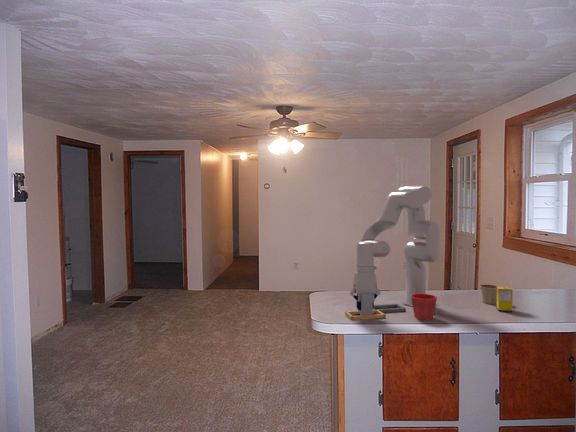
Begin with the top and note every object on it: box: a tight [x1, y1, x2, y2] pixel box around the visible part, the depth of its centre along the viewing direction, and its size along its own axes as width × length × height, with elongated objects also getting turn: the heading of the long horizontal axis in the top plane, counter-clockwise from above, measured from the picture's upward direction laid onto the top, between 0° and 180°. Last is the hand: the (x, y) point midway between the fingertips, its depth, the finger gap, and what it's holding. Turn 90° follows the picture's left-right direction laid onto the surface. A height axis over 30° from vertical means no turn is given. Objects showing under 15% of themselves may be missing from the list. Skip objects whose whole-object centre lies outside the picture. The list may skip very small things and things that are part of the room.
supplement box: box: [496, 285, 514, 313], centre depth 189 cm, size 6×6×11 cm
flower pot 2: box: [478, 283, 498, 305], centre depth 204 cm, size 9×9×9 cm
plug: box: [357, 293, 374, 316], centre depth 179 cm, size 5×5×11 cm
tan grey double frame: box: [344, 303, 407, 321], centre depth 185 cm, size 30×16×2 cm, turn 102°
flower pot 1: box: [411, 293, 438, 321], centre depth 178 cm, size 11×11×10 cm
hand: (365, 308), depth 180 cm, fingers closed on plug, 4 cm apart
